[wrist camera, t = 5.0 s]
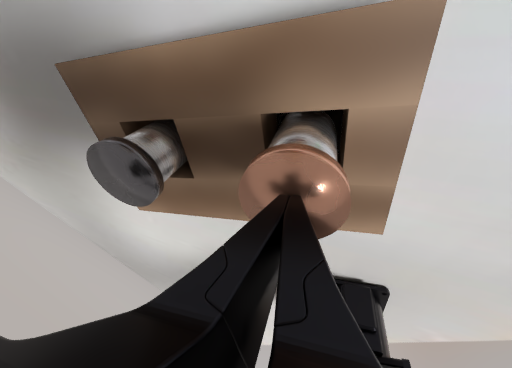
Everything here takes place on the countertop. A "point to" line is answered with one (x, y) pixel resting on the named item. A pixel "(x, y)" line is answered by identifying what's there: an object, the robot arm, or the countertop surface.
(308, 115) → the copper capped plug
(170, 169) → the grey plug
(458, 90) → the countertop surface
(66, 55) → the countertop surface
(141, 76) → the socket block
